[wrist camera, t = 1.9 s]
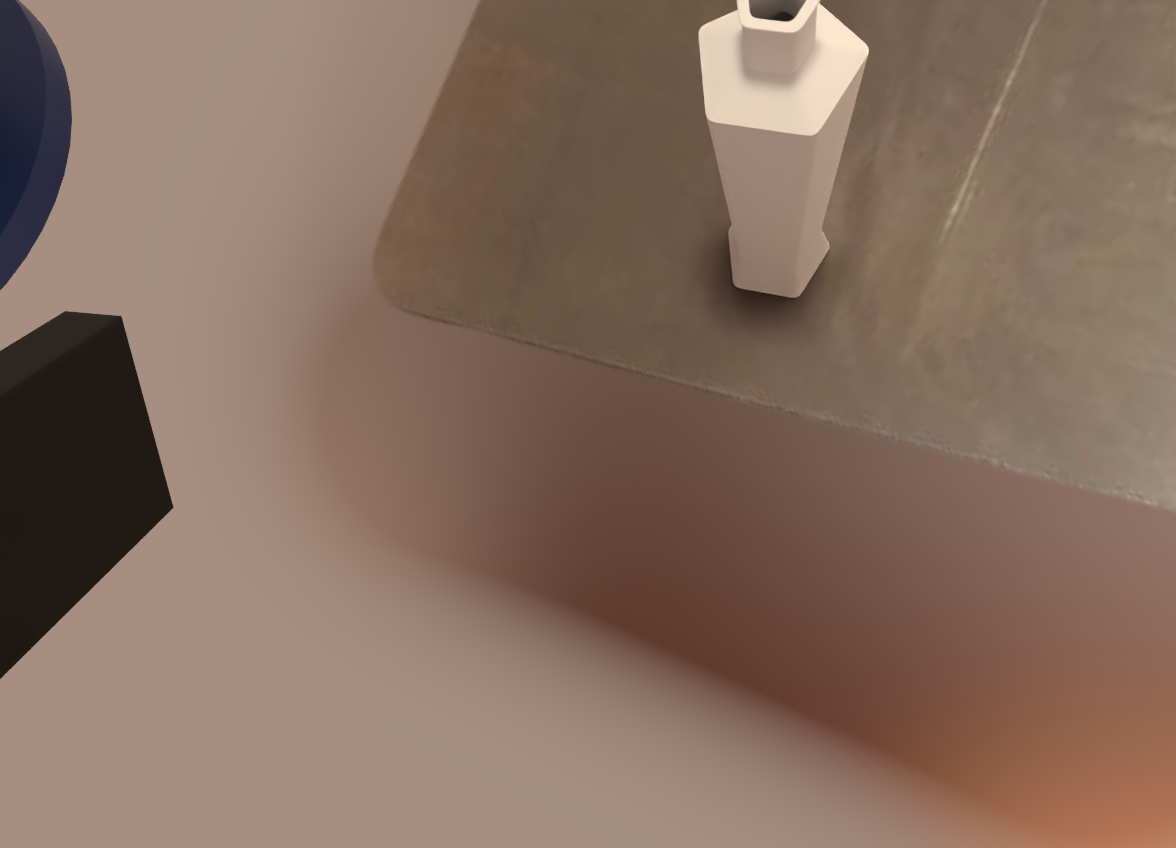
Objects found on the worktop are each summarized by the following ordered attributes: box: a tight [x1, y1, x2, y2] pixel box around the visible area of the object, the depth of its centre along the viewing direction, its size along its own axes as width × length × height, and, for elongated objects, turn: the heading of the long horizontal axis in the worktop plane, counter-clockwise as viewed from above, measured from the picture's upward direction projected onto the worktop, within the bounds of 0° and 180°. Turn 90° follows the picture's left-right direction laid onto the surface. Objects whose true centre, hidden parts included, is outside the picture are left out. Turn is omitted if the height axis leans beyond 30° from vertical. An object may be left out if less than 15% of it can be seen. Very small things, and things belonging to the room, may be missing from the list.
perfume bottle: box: [699, 0, 869, 298], centre depth 32 cm, size 5×4×15 cm
